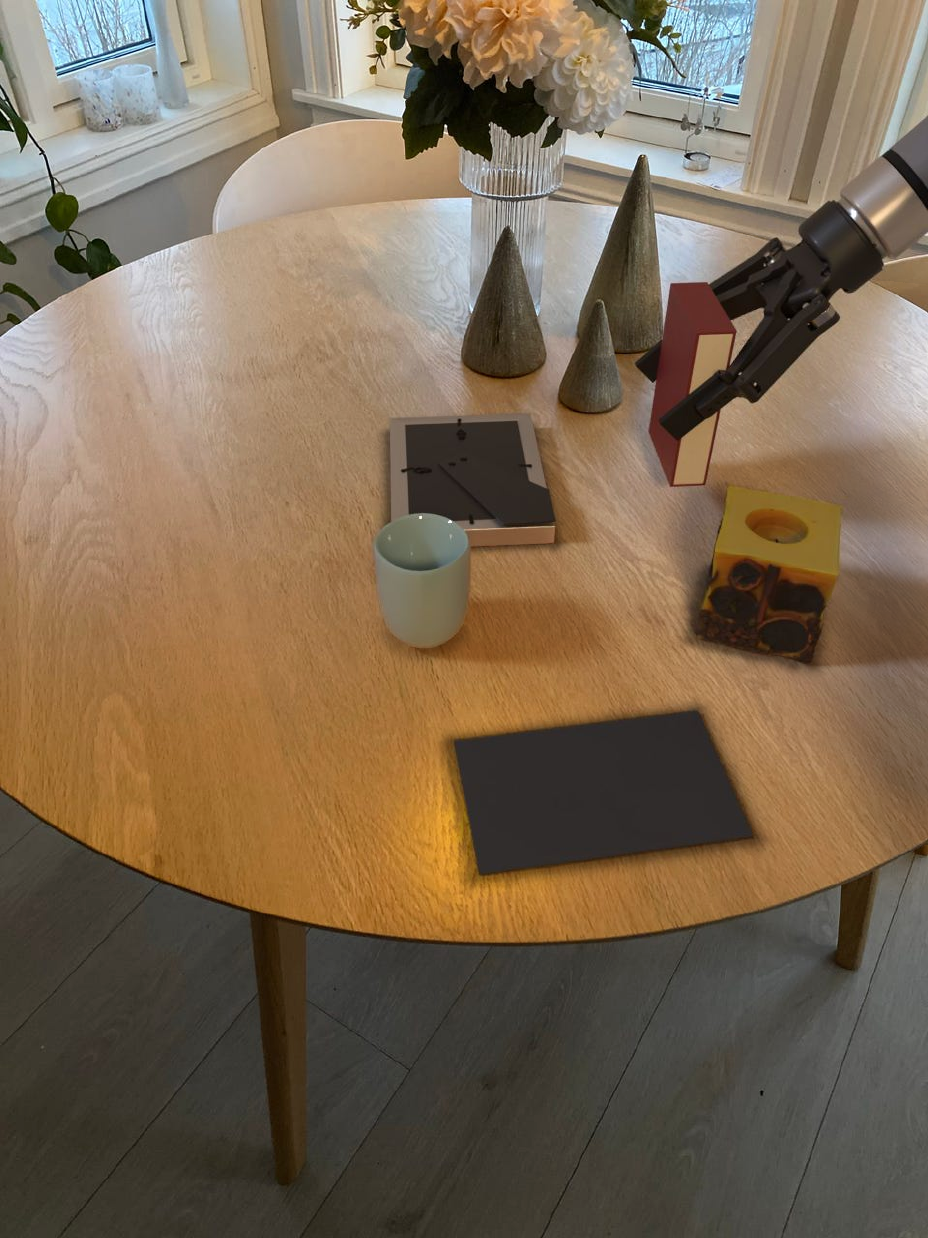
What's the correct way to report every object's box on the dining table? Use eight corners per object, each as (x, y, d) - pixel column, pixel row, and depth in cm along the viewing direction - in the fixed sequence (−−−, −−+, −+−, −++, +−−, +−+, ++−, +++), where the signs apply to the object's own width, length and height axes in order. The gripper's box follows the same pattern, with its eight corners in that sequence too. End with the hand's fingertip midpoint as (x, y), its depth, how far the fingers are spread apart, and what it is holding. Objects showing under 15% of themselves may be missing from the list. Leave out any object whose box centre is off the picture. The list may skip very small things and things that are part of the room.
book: (648, 431, 100) (670, 282, 89) (681, 430, 100) (707, 281, 89) (669, 487, 93) (696, 332, 82) (705, 485, 93) (737, 330, 82)
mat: (697, 713, 78) (698, 710, 77) (753, 837, 69) (753, 835, 69) (453, 743, 75) (453, 740, 75) (479, 875, 67) (479, 873, 67)
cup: (487, 629, 85) (489, 541, 78) (423, 675, 81) (419, 585, 74) (426, 588, 89) (423, 501, 82) (363, 630, 85) (353, 541, 78)
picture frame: (553, 543, 94) (529, 428, 109) (555, 520, 92) (530, 406, 107) (392, 550, 93) (390, 433, 108) (391, 526, 91) (389, 411, 106)
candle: (811, 667, 81) (842, 578, 75) (691, 640, 84) (712, 551, 77) (819, 592, 88) (848, 504, 82) (708, 569, 91) (728, 482, 84)
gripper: (938, 317, 75) (707, 490, 85) (836, 212, 92) (653, 367, 102) (893, 252, 71) (657, 441, 81) (795, 154, 88) (609, 321, 98)
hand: (655, 400), depth 92 cm, fingers closed on book, 10 cm apart
